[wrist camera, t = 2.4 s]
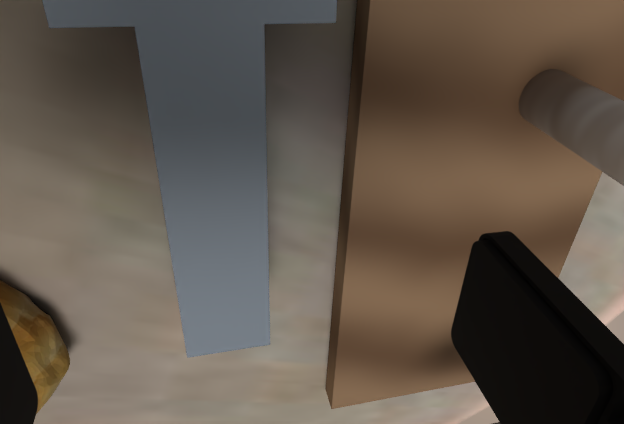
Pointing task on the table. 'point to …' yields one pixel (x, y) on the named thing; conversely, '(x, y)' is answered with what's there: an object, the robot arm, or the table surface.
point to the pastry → (36, 341)
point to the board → (461, 167)
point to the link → (207, 147)
